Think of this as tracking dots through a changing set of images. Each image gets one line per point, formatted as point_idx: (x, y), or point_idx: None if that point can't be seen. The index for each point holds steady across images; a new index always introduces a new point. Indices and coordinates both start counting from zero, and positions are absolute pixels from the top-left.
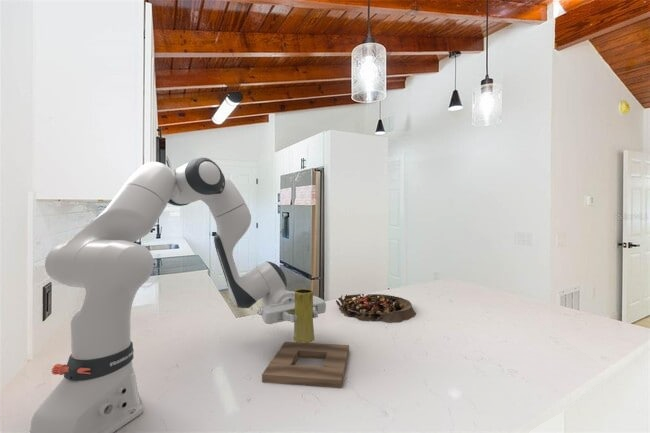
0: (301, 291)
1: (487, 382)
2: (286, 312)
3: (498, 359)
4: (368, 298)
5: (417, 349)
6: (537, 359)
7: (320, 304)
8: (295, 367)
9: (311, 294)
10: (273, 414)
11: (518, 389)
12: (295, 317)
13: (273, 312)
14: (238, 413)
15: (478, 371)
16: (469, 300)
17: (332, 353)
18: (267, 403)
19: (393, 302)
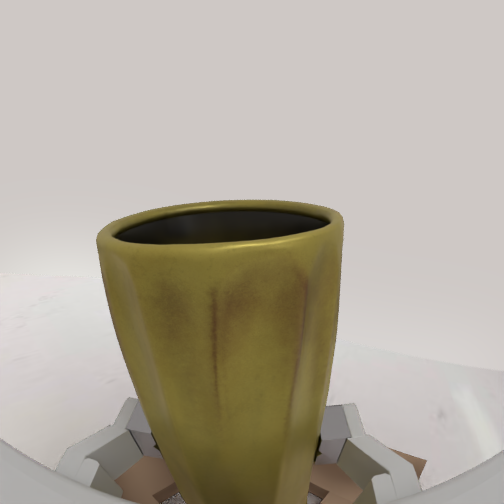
0: (169, 294)
1: (78, 302)
2: (385, 487)
3: (19, 308)
4: None
5: (7, 372)
6: (13, 293)
7: (3, 441)
8: (318, 471)
9: (186, 228)
10: (394, 372)
11: (81, 289)
12: (326, 407)
13: (498, 454)
14: (451, 385)
15: (55, 311)
16: None
17: (145, 478)
18: (405, 398)
19: None
